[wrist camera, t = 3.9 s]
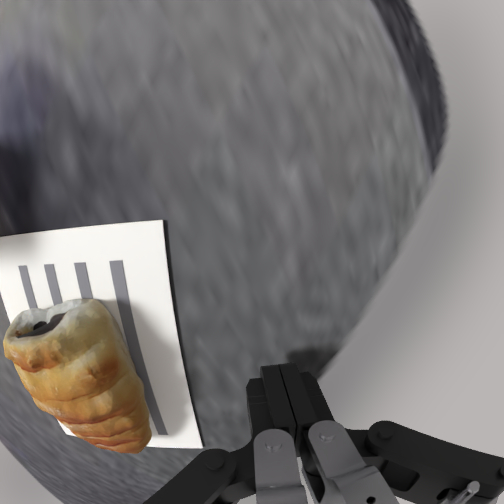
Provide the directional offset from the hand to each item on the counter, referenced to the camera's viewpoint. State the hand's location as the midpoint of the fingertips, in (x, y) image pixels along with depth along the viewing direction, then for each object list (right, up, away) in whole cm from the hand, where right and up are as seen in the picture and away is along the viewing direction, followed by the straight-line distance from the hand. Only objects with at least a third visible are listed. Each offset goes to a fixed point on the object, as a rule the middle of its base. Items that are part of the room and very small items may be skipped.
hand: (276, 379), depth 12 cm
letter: (-9, 0, +1) cm, 9 cm away
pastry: (-9, 0, +1) cm, 9 cm away
